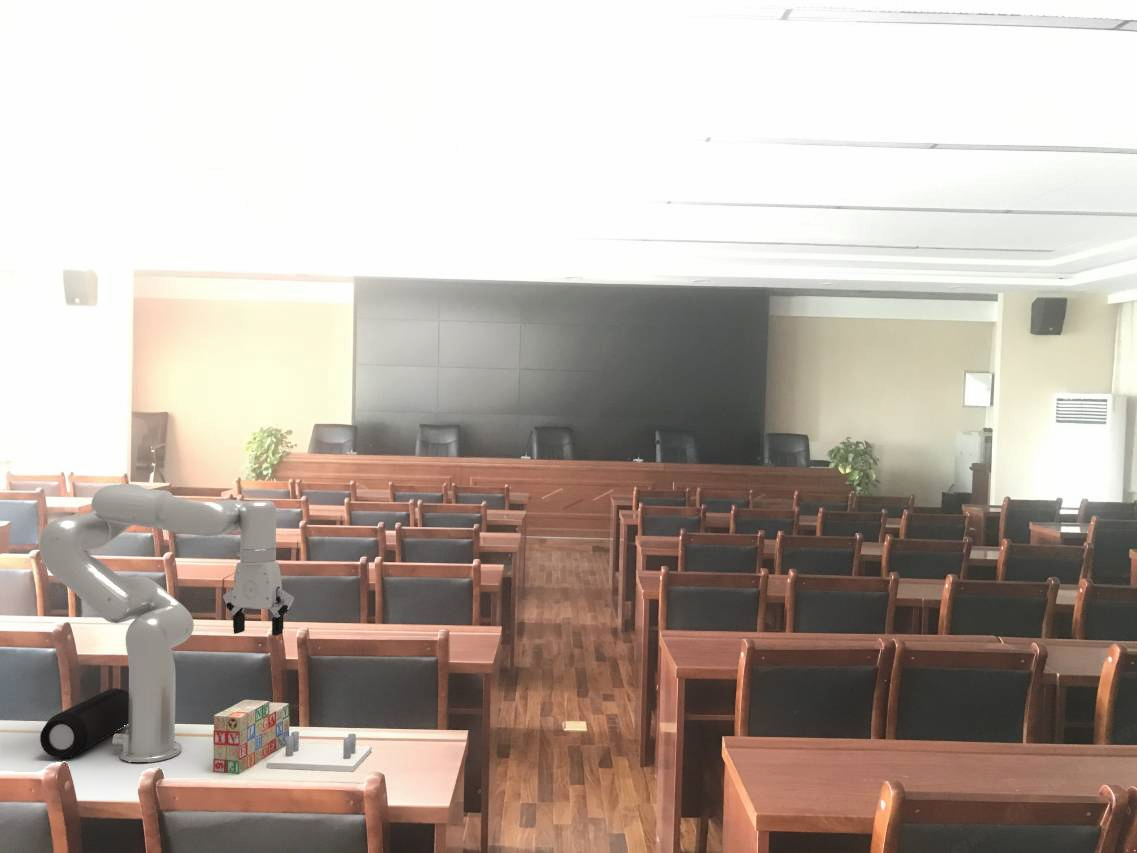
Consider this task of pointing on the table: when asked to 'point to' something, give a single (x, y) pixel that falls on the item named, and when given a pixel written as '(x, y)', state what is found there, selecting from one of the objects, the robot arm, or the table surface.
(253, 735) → the stack of blocks
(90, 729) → the portable speaker
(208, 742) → the table surface
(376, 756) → the table surface
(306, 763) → the peg board
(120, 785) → the table surface
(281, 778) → the table surface
